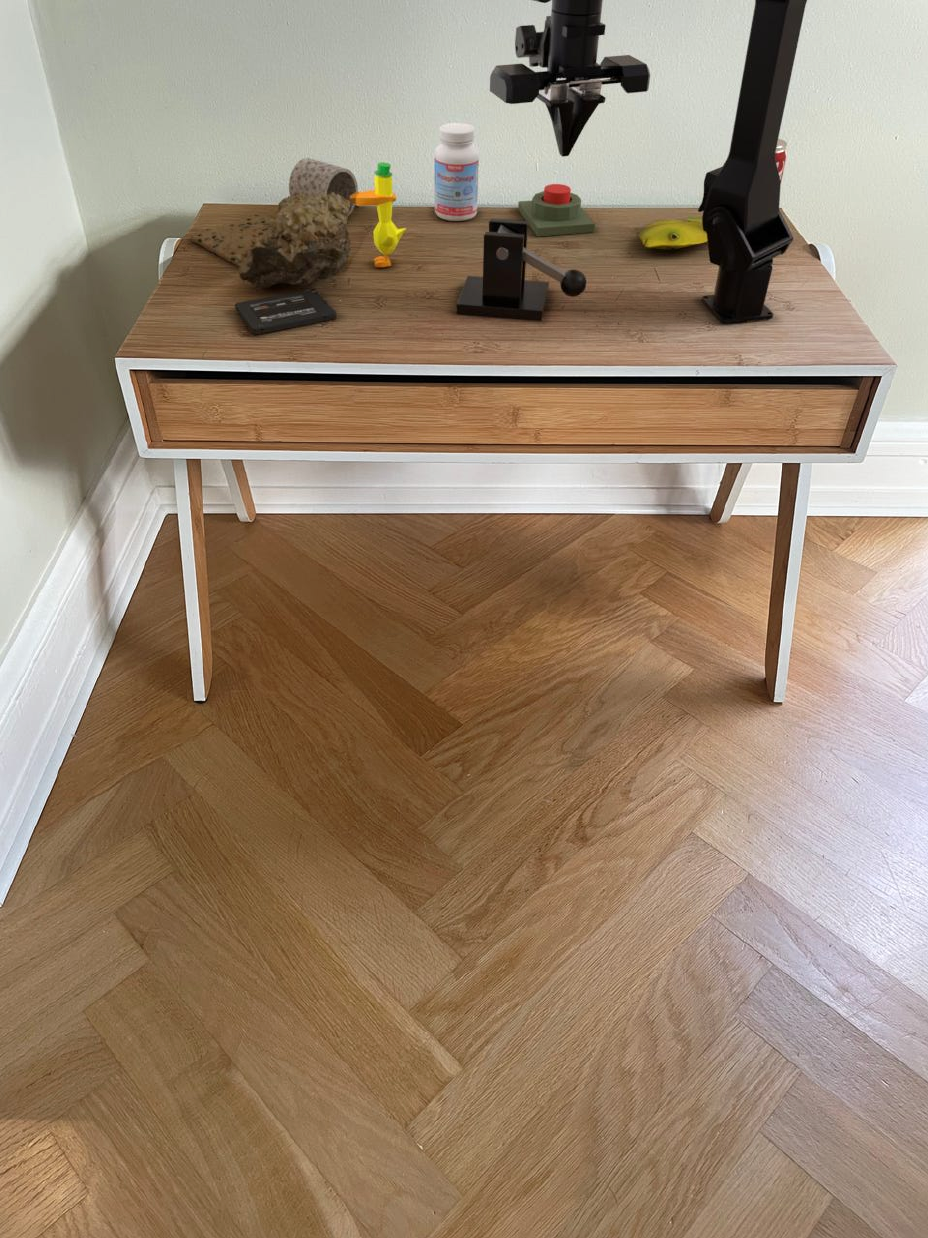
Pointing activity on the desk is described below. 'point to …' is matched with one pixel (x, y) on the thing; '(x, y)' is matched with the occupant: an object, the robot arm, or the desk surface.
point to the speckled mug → (322, 180)
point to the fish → (673, 234)
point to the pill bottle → (456, 173)
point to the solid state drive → (284, 311)
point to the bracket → (504, 278)
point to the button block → (555, 216)
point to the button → (557, 194)
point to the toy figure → (381, 213)
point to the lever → (554, 271)
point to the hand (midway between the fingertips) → (563, 155)
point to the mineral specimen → (299, 242)
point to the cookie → (233, 236)
